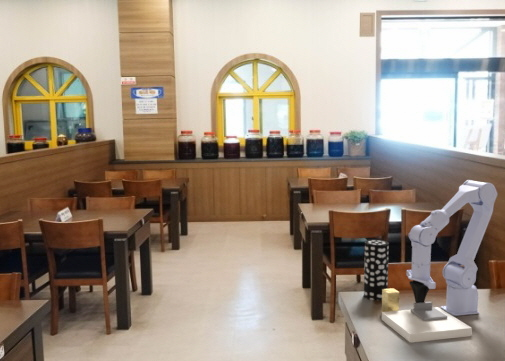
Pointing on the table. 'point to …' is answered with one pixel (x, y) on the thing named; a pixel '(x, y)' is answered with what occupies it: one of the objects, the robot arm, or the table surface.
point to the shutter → (427, 311)
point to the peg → (390, 300)
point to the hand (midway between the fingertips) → (419, 303)
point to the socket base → (425, 326)
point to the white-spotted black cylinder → (375, 268)
